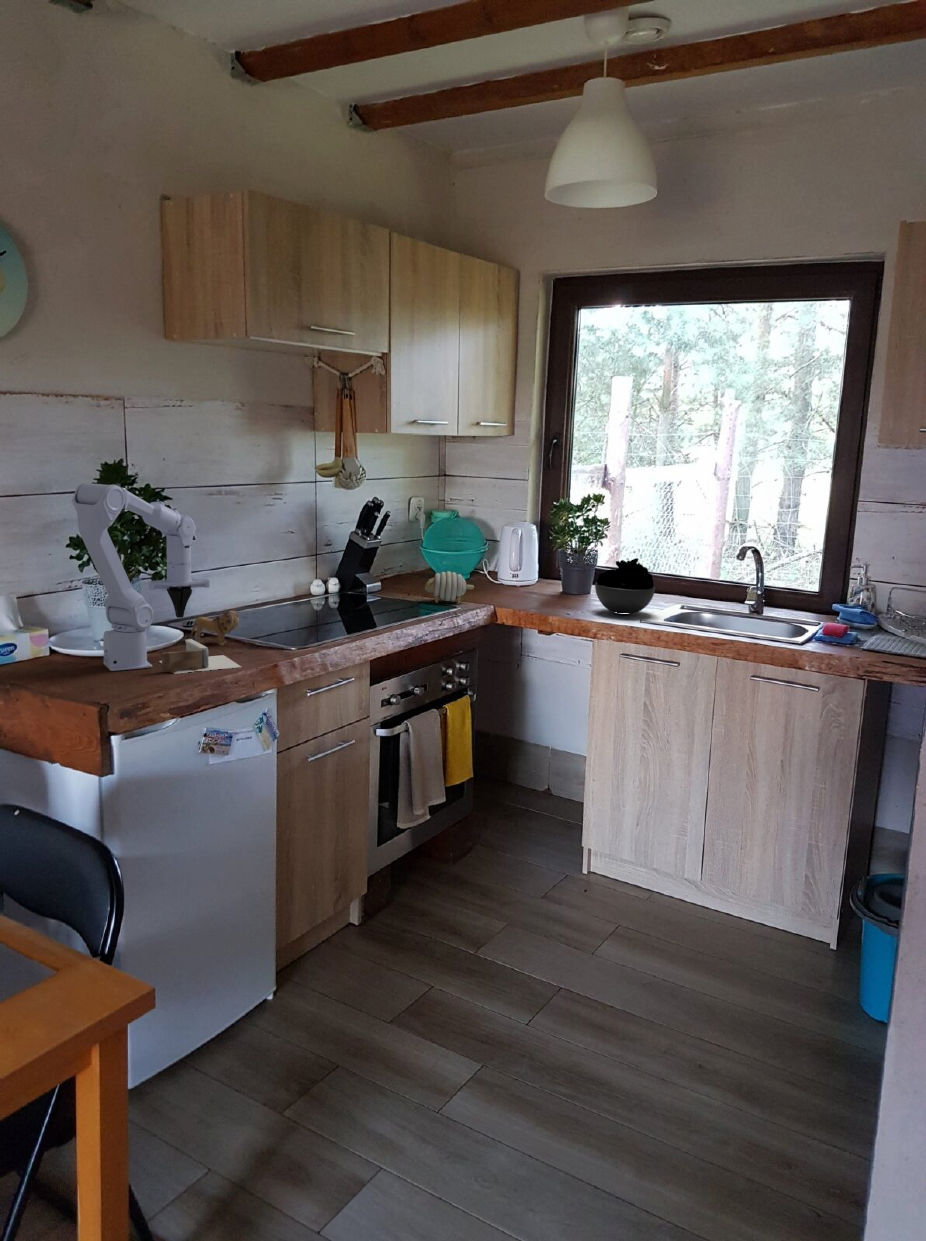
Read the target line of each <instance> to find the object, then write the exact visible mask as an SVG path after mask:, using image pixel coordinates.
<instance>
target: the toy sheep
mask: <svg viewBox="0 0 926 1241" xmlns="http://www.w3.org/2000/svg"><path fill="white" fill-rule="evenodd" d="M474 588H475V586H474V584H467V581H466V580H465V578H464V577H463V575H462V574H460V573H458V574H457V573H456V572H455V571H453V572H451V571H449V570H447V571H446V572H445V571H442V572H441V573H439V572H436V573H435V575H434V577H432V578H429V579H428V580H427V582H426V583H425V585H424V590H425V591H426V592H427V593H433V600H434V599H435V601H434V603H435V602H438V601H439V602H440V601H445V602H446V601H449V602H454V601H455V602H456V599H457V602H460V603H461V597H462V596H464V594H465V593H466V591H467V590H474ZM457 602H456V603H457Z"/></svg>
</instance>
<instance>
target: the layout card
mask: <svg viewBox="0 0 926 1241" xmlns="http://www.w3.org/2000/svg"><path fill="white" fill-rule="evenodd" d="M159 663H160V664H161V665H162V660H159ZM208 665H209V666H207V667H203V666H202V667H196V668H198V670H196V671H202V672H211V671H210V670H212V671H219V670H218V669H223V670H231V669H232V668H233V669H241V668H242V667H243V666H241V665H239V664H238V663H237V662H235V661H233V659H230V658H229V657H228V656H226V655H224V654H222V655H211V656H209V655H208ZM233 669H232V670H233ZM188 672H192V673H195V672H194V671H192V670H191V669H190V668H186V669H176V673H173V675H178V674H181V673H182V674H189V673H188Z"/></svg>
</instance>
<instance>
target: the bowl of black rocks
mask: <svg viewBox="0 0 926 1241" xmlns="http://www.w3.org/2000/svg"><path fill="white" fill-rule="evenodd" d="M615 565H616V566H617V568H616V569H613V568H611V569H607V570H605V572H603V573H602V572H600V573H599V576H598V577H597V582H595V583H594V590H595V594H596V596H597V599H598V600H599V602H600V604H601V605H602V606H603V607H604V608H605V609H607V610H608V611H609V612H612V613H613V612H617V613H634V614H636V613H639V612H641V611H642V610H644V609H645V608H646V607H647V606H648V605H649V604H650V602H651V601H652V599H653V597H654V594H655V591H656V587H655V586H654V585H655V584H654V579H653V575H652V574H651V573H650V572H649V568H647V567H646V566H644V565H642V564H641V563H639V558H638V557H636V558H633V559H631V560H627V561H625V560H623V559H621V560H620V561H619V560H615Z"/></svg>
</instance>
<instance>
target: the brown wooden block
mask: <svg viewBox="0 0 926 1241" xmlns="http://www.w3.org/2000/svg"><path fill="white" fill-rule="evenodd" d="M161 661H162V664H161V671H162V672H163V673H169V672H170V673H171V674H174V673H176V669H186V668H190V669H191V670H192V671H196V670H198V668H196V667H202V651H201V650H188V651H186V650H179V651H166V652H165V651H164V652H163V651H162V652H161Z"/></svg>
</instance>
